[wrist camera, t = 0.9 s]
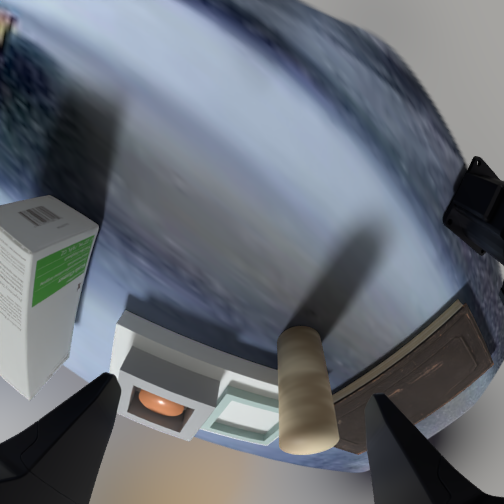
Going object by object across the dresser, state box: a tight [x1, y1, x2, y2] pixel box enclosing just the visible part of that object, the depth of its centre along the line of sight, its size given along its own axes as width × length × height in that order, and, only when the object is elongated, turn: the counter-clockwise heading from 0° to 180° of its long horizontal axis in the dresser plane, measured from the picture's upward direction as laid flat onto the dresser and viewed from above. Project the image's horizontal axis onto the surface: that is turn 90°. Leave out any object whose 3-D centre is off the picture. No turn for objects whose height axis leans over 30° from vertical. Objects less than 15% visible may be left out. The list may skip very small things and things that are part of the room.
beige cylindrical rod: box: [277, 326, 339, 455], centre depth 19 cm, size 4×4×10 cm
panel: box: [109, 310, 279, 446], centre depth 24 cm, size 20×12×5 cm, turn 65°
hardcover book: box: [332, 299, 494, 455], centre depth 26 cm, size 16×23×2 cm
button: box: [139, 389, 184, 416], centre depth 23 cm, size 4×4×1 cm
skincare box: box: [0, 195, 99, 401], centre depth 17 cm, size 8×7×16 cm
